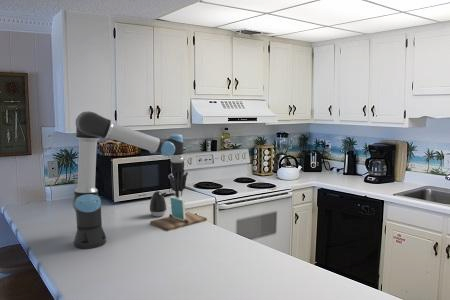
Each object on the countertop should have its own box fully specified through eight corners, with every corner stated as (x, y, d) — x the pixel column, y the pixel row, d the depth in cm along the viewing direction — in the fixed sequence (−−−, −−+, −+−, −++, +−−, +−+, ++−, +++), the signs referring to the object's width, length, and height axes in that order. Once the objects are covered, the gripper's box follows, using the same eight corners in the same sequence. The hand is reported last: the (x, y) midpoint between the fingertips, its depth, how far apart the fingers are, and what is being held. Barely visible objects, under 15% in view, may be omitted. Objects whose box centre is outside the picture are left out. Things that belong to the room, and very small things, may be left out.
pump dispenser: (165, 217, 238) (164, 193, 236) (148, 217, 238) (147, 193, 236) (168, 213, 248) (167, 189, 246) (151, 213, 248) (150, 189, 246)
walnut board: (168, 230, 213) (167, 225, 213) (150, 223, 226) (150, 218, 226) (206, 220, 231) (206, 215, 231) (188, 214, 244) (188, 209, 244)
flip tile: (185, 220, 224) (184, 220, 224) (173, 215, 233) (171, 216, 232) (184, 199, 222) (182, 200, 222) (171, 196, 231) (170, 196, 230)
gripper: (171, 163, 218) (173, 205, 221) (190, 160, 226) (192, 200, 229) (164, 162, 223) (166, 203, 226) (182, 159, 232) (184, 198, 235)
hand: (179, 202), depth 228 cm, fingers closed
